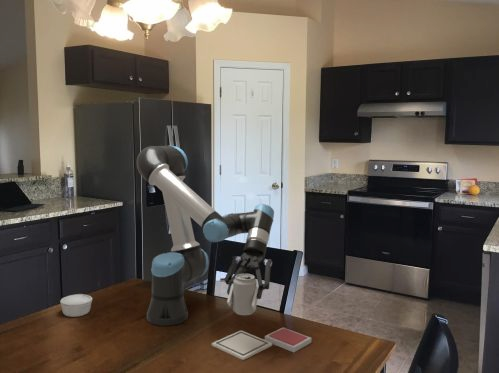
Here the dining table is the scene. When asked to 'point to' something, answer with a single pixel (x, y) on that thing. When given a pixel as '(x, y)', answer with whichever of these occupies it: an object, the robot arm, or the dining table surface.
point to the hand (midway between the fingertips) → (241, 305)
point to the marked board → (242, 344)
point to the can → (243, 294)
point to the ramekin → (76, 305)
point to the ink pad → (288, 339)
